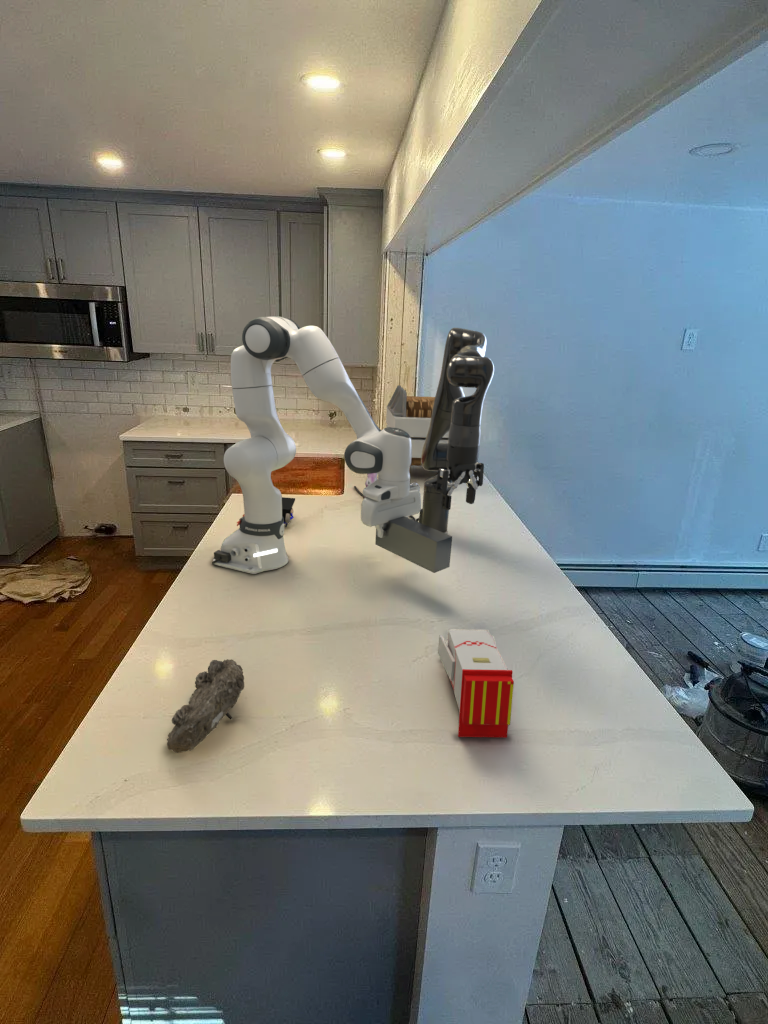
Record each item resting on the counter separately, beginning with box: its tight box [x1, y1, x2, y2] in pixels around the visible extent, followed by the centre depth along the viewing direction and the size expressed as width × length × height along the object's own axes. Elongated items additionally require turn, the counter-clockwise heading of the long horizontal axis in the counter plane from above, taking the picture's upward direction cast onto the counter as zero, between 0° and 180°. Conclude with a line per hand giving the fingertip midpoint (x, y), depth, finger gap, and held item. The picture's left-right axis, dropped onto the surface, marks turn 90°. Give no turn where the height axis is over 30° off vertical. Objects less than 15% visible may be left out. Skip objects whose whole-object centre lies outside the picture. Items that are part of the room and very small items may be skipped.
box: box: [374, 516, 453, 574], centre depth 155 cm, size 23×6×9 cm, turn 43°
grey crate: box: [385, 384, 453, 483], centre depth 268 cm, size 34×33×41 cm
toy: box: [437, 628, 515, 738], centre depth 117 cm, size 12×13×30 cm
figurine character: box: [282, 496, 296, 528], centre depth 204 cm, size 7×8×15 cm
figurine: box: [364, 473, 378, 497], centre depth 225 cm, size 9×10×15 cm
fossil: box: [166, 658, 245, 754], centre depth 106 cm, size 22×10×15 cm
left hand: (390, 533), depth 161 cm, fingers closed on box, 6 cm apart
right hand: (458, 506), depth 141 cm, fingers open, 8 cm apart
